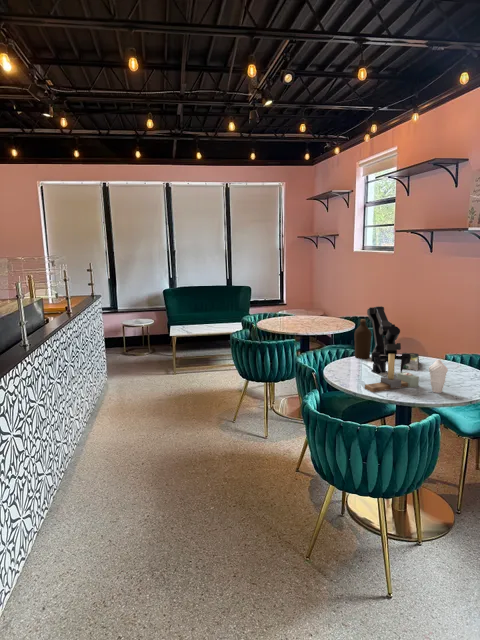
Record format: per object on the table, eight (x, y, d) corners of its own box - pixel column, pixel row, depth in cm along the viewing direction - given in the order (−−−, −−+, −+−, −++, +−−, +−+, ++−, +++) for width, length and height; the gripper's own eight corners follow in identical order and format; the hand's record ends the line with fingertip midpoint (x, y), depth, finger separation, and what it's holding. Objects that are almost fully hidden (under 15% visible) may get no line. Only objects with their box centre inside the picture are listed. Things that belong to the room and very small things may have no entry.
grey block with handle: (390, 382, 217) (391, 351, 215) (401, 386, 209) (402, 355, 207) (380, 383, 215) (381, 352, 213) (391, 388, 207) (392, 356, 205)
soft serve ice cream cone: (445, 395, 198) (447, 362, 196) (426, 392, 202) (427, 360, 200) (447, 390, 205) (449, 358, 202) (429, 387, 209) (430, 356, 207)
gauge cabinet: (404, 381, 221) (404, 370, 221) (418, 386, 212) (418, 375, 211) (396, 382, 220) (397, 371, 219) (410, 387, 210) (410, 376, 210)
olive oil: (363, 360, 267) (364, 321, 263) (350, 357, 276) (351, 319, 272) (374, 357, 273) (375, 319, 269) (361, 354, 282) (362, 317, 278)
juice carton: (418, 370, 241) (418, 360, 240) (400, 369, 245) (400, 359, 244) (418, 362, 259) (419, 353, 258) (401, 361, 263) (402, 352, 262)
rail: (399, 383, 218) (399, 379, 218) (407, 386, 212) (407, 382, 212) (364, 388, 211) (364, 384, 210) (372, 392, 205) (372, 388, 205)
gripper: (372, 336, 215) (373, 363, 206) (411, 337, 210) (413, 364, 201) (370, 348, 223) (371, 374, 214) (408, 349, 219) (410, 376, 210)
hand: (391, 372), depth 210 cm, fingers open, 9 cm apart
